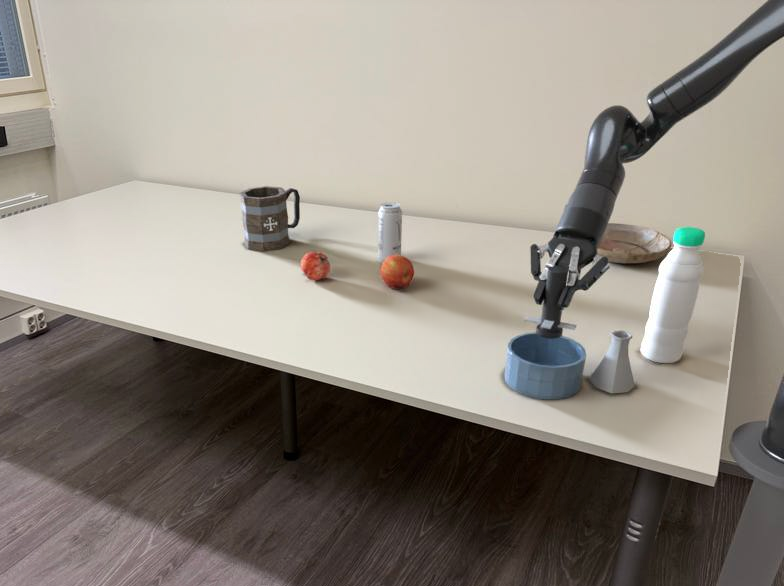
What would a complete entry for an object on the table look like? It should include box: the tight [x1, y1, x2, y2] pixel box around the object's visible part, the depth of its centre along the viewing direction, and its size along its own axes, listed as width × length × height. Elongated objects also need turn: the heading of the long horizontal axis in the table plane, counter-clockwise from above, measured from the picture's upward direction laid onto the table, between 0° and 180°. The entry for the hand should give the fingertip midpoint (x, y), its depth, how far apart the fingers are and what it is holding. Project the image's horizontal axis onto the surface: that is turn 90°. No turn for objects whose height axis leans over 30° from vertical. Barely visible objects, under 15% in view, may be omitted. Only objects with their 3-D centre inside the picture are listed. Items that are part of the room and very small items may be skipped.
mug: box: [239, 185, 301, 252], centre depth 194 cm, size 20×14×15 cm
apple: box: [379, 254, 415, 290], centre depth 161 cm, size 8×8×8 cm
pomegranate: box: [300, 250, 331, 281], centre depth 168 cm, size 7×7×10 cm
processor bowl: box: [503, 331, 587, 400], centre depth 120 cm, size 13×13×6 cm
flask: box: [588, 330, 636, 394], centre depth 117 cm, size 7×7×10 cm
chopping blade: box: [524, 266, 578, 339], centre depth 114 cm, size 8×8×12 cm
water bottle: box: [640, 226, 706, 364], centre depth 122 cm, size 7×7×25 cm
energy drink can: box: [377, 202, 403, 263], centre depth 175 cm, size 6×6×15 cm
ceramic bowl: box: [597, 222, 672, 264], centre depth 173 cm, size 23×24×5 cm
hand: (548, 305), depth 113 cm, fingers closed on chopping blade, 3 cm apart
